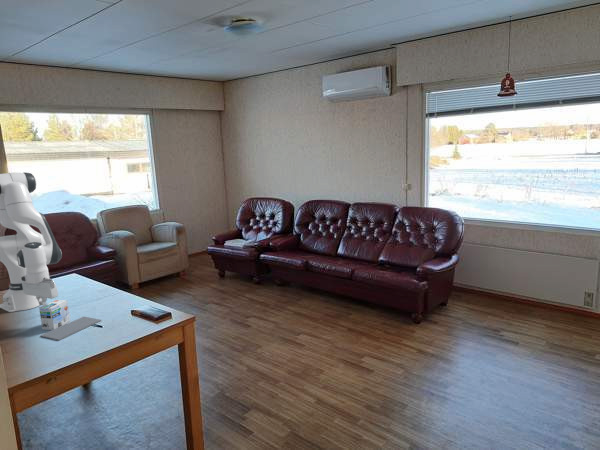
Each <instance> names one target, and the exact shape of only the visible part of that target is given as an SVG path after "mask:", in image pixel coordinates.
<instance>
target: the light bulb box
mask: <svg viewBox="0 0 600 450" xmlns="http://www.w3.org/2000/svg"><path fill="white" fill-rule="evenodd" d="M38 310H39V315H40V322H41V327H42V328H41V329H42V330H45V331H52V330H54V329H56V328H58V327H61V326H63V325H65V324H68V323H70V322H71V317H70V316H71V315H70V310H69V302H68V300H65V299H64V300H63V299H62V300H61V299H55V300H53V301H51V302H49V303H46V305H44V306H43V305H41V306H40V307H38Z"/></svg>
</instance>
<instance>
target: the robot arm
mask: <svg viewBox="0 0 600 450" xmlns="http://www.w3.org/2000/svg"><path fill="white" fill-rule="evenodd" d="M36 188H37V179H36V178H35V176H34V175H33V174H32V173H30V172H8V173H0V225H1V226H2V227H4V228H7V229H9V230H14V231H16V234H12V235H4V236H0V262H1V263H2V264H3V265H4V266H5V267H6V270H7V273H8V276H9V280H10V282H9V283H8V287H9V289H8V290H7V291H6V292H5V293H4V294H3V296H2V303H0V309H1V310H4V311H6V312H8V313H13V312H19V311H27V310H30V309H34V308H37V307H39V306H44V305H46V304H47V300H48V299H51V300H52V299H56V298H57V297H58V296H59V292H58V287H57V284H56V283H55V281H54V280H53V279H52V278H50V272H49V268H48V266H47V265H56V264H57V263H59V262H60V261H61V260H62V258H63V253H62V252H63V251H62V249H61V248H60V246H59V244H58V242H57V241H56V238H55V236H54V233H53V232H52V229H51V227H50V224H49V223H48V221H47V219H46V216H45V215H44V214H43V212H39V211H38V210H37V209H36V208H35V206H34V202H33V199H32V196H31V193H33V192H34V191H36ZM31 226H33V227H35V228H37V229H38V230H39V232H38V231H36V230H35V229H33V228H32V227H31Z"/></svg>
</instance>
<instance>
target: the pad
mask: <svg viewBox="0 0 600 450" xmlns="http://www.w3.org/2000/svg"><path fill="white" fill-rule="evenodd" d="M100 322H102V319H98V318H94V317H89V316H81V317H79V318H78V319H74V320H73V321H70V322H68V323H67V324H65V325H63V326H61V327H58V328H56V329H54V330H48V331H47V332H46V333H43V334H41V335H40V337H41V338H45V339H48V340H49V339H50V340H54V341H58V342H60V341H62V340H64V339H66V338H68V337H70V336H72V335H75V334H76V333H78V332H81V331H83V330H85V329H87V328H90V327H92V326H93V325H96V324H98V323H100Z"/></svg>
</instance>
